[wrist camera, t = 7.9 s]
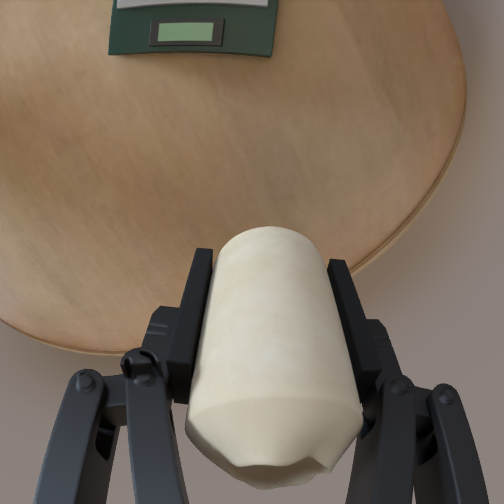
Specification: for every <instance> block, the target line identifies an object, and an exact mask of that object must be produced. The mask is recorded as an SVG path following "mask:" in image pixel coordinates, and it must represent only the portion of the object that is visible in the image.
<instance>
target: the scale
mask: <svg viewBox="0 0 504 504" xmlns="http://www.w3.org/2000/svg"><path fill="white" fill-rule="evenodd" d="M277 8H278V0H113V7H112V15H111V25H110V36H109V50H108V55H130V54H145V53H177V52H190V53H222V54H238V55H250V56H260V57H269V58H270V57H271V56H272V48H273V40H274V32H275V24H276V16H277Z"/></svg>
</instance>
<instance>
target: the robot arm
mask: <svg viewBox="0 0 504 504" xmlns="http://www.w3.org/2000/svg"><path fill="white" fill-rule="evenodd" d="M212 262H213V249H205V248H197V249H196V252H195V255H194V259H193V262H192V265H191V269H190V272H189V276H188V279H187V283H186V286H185V290H184V293H183V297H182V300H181V304H180V308H176V307H167V306H160V307H159V308H158V309H157V310H156V311H155V312H154V313H153V314H152V316H151V319H150V322H149V325H148V328H147V331H146V334H145V337H144V340H143V343H142V346H141V348H135V349H132V350H130V351H128V352H127V353H126V354H125V355H124V356H123V357H122V359H121V363H120V365H121V368H122V371H123V374H120V375H114V376H103V377H102V376H101V375H100V373H98V372H97V371H95V370H92V369H83V370H80V371H78V372H76V373H75V374H74V375H73V376H72V377H71V379H70V381H69V384H68V387H67V389H66V392H65V395H64V398H63V400H62V403H61V406H60V409H59V412H58V415H57V418H56V421H55V424H54V427H53V430H52V434H51V437H50V440H49V444H48V447H47V450H46V454H45V457H44V461H43V464H42V468H41V472H40V476H39V480H38V484H37V489H36V493H35V497H34V502H33V504H106V500H107V493H108V488H109V481H110V476H111V470H112V465H113V460H114V455H115V450H116V445H117V440H118V435H119V430H120V426H125V425H127V428H128V441H129V453H130V463H131V472H132V480H133V488H134V496H135V501H136V504H189V501H188V496H187V492H186V487H185V482H184V478H183V473H182V468H181V462H180V457H179V451H178V446H177V440H176V434H175V428H174V422H173V415H172V410H171V405H172V399H173V400H174V403H180V404H188V403H189V396H190V390H191V384H192V378H193V373H194V367H195V361H196V355H197V350H198V344H199V338H200V333H201V327H202V322H203V317H204V311H205V306H206V301H207V295H208V290H209V285H210V280H211V275H212ZM327 273H328V277H329V280H330V284H331V288H332V291H333V295H334V298H335V302H336V306H337V310H338V313H339V317H340V321H341V325H342V329H343V333H344V337H345V341H346V345H347V349H348V353H349V357H350V361H351V365H352V370H353V374H354V378H355V383H356V387H357V392H358V396H359V401H360V404H361V402H362V407H363V412H362V416H363V427H362V429H361V431H360V432H359V434H358V435H357V440H356V447H355V454H354V460H353V466H352V472H351V478H350V483H349V488H348V493H347V498H346V503H345V504H412V495H413V486H414V492H415V499H416V504H489V500H488V495H487V490H486V486H485V481H484V477H483V473H482V469H481V465H480V461H479V457H478V453H477V450H476V446H475V443H474V439H473V436H472V433H471V429H470V426H469V423H468V420H467V417H466V414H465V411H464V408H463V405H462V402H461V399H460V397H459V394H458V392H457V390H456V389H454V388H453V387H452V386H451V385H448V384H439V385H437V386H436V387H435V388H434V389H433V390H429V389H424V388H420V387H416V386H414V384H413V383H412V381H411V380H410V379H409V378H408V377H406V376H404V375H403V374H402V372H401V370H400V367H399V364H398V361H397V358H396V355H395V353H394V350H393V347H392V346H391V345H392V344H391V341H390V339H389V336H388V333H387V331H386V328H385V327H384V326H383V324H382V323H381V322H380V321H379V320H378V319H366V317H365V314H364V311H363V309H362V306H361V303H360V300H359V297H358V294H357V292H356V289H355V286H354V283H353V281H352V278H351V275H350V273H349V270H348V267H347V265H346V262H345V260H339V259H330V261H329V264H328V268H327Z"/></svg>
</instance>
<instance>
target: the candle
mask: <svg viewBox="0 0 504 504" xmlns="http://www.w3.org/2000/svg"><path fill="white" fill-rule="evenodd" d="M362 427H363V416H362V411H361V406H360V401H359V396H358V392H357V387H356V383H355V378H354V374H353V370H352V365H351V361H350V357H349V353H348V349H347V345H346V341H345V337H344V333H343V329H342V325H341V321H340V317H339V313H338V310H337V306H336V302H335V298H334V295H333V291H332V288H331V284H330V280H329V277H328V273H327V270H326V267H325V264H324V261H323V259H322V256H321V255H320V253H319V251H318V250H317V248H316V247H315V246H314V245H313V243H312V242H311V241H309V240H308V239H307V238H306V237H304V236H303V235H301V234H299V233H297V232H295V231H293V230H289V229H286V228H281V227H259V228H254V229H251V230H247V231H245V232H243V233H240V234H239V235H237V236H235V237H234V238H232V239H231V240H230V241H229V242H228V243H227V244H226V245H225V246H224V247H223V248H222V250H221V251H220V253H219V255H218V257H217V259H216V261H215V264H214V267H213V271H212V275H211V280H210V285H209V290H208V295H207V301H206V306H205V311H204V317H203V322H202V327H201V333H200V338H199V344H198V350H197V355H196V361H195V367H194V373H193V378H192V384H191V390H190V396H189V403H188V409H187V415H186V422H185V432H186V435H187V436H188V438H189V439H190V440H191V442H192V443H193V444H194V445H195V446H196V448H197V449H198V450H199V451H200V452H201V453H202V454H203V455H205V456H206V457H207V458H208V459H209V460H211V461H212V462H213V463H214V464H216V465H217V466H218V467H220V468H221V469H223V470H224V471H225V472H227V473H228V474H230V475H231V476H232V477H233V478H235V479H237V480H240V481H243V482H245V483H247V484H249V485H250V486H252V487H254V488H256V489H261V490H268V489H274V488H278V487H287V486H296V485H302V484H305V483H307V482H309V481H310V480H311V479H312V478H313V477H314V476H315V475H317V474H320V473H324V474H330V473H331V471H332V470H333V468H334V466H335V464H336V463H337V462H338V461H339V459H340V458H341V457H342V455H343V454H344V453H345V451H346V450H347V449H348V447H349V446H350V444H351V443H352V442H353V441H354V439H355V438H356V437H357V435H358V434H359V432H360V431H361V429H362Z"/></svg>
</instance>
